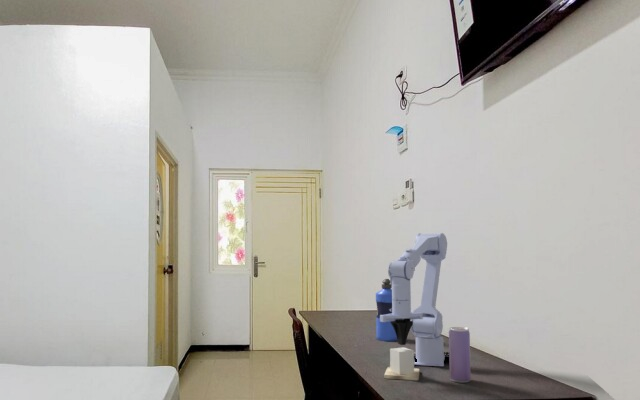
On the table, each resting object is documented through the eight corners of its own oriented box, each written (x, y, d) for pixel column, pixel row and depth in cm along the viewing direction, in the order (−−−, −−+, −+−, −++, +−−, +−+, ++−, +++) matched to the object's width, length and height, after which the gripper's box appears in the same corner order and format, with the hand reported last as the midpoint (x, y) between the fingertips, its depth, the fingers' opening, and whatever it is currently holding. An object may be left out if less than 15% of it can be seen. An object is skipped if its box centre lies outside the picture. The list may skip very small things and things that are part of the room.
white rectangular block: (404, 368, 156) (404, 347, 156) (414, 372, 151) (413, 350, 152) (390, 370, 154) (390, 348, 154) (399, 374, 149) (399, 352, 149)
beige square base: (419, 371, 156) (419, 352, 156) (418, 380, 146) (418, 359, 147) (387, 370, 158) (387, 350, 159) (384, 378, 148) (384, 357, 149)
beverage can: (467, 384, 142) (466, 330, 144) (447, 381, 145) (446, 329, 147) (473, 379, 147) (471, 327, 149) (453, 376, 150) (452, 326, 152)
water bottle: (402, 338, 210) (401, 278, 212) (392, 342, 202) (392, 280, 204) (381, 336, 215) (381, 277, 217) (372, 339, 207) (371, 279, 209)
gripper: (413, 297, 161) (414, 340, 160) (374, 299, 155) (374, 343, 154) (426, 299, 154) (427, 344, 153) (386, 301, 148) (387, 348, 147)
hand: (402, 344), depth 153 cm, fingers closed
